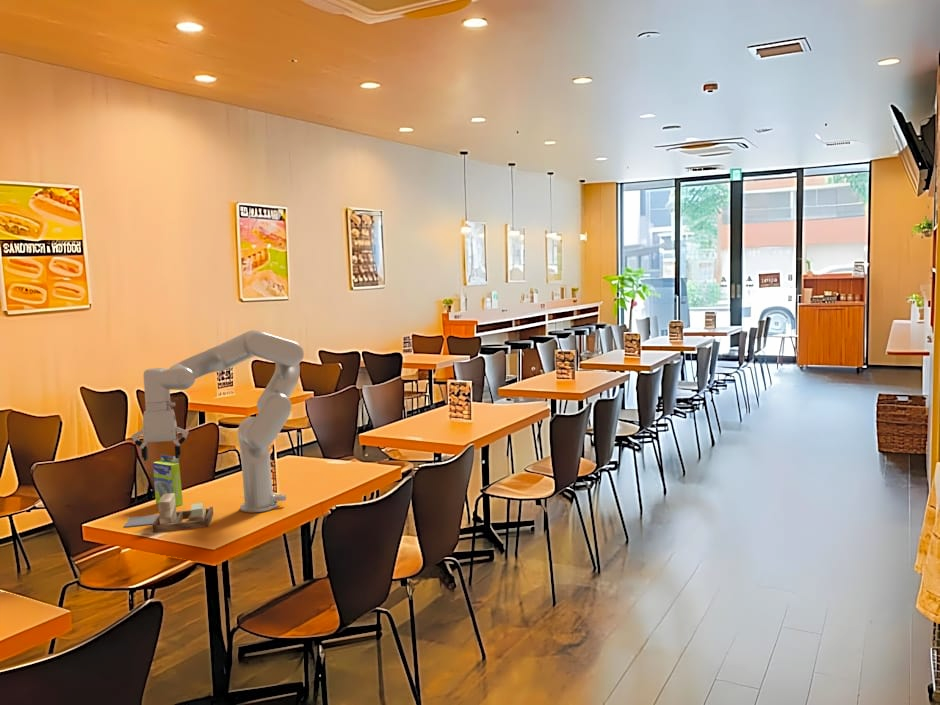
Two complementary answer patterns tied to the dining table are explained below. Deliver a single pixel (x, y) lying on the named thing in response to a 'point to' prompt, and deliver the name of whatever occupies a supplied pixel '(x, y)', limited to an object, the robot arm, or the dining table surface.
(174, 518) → the beige rectangular block
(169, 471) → the box
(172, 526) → the rack
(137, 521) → the mat
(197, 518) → the offcut low
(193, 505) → the offcut top
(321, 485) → the dining table surface
